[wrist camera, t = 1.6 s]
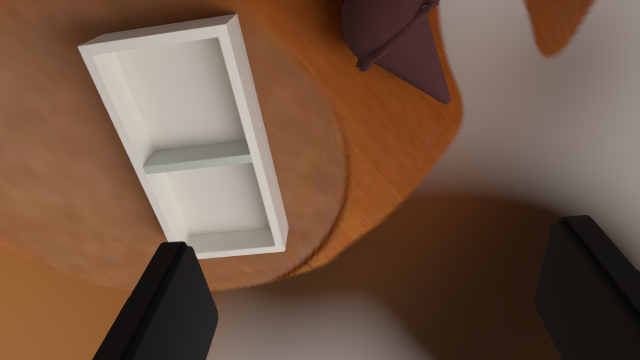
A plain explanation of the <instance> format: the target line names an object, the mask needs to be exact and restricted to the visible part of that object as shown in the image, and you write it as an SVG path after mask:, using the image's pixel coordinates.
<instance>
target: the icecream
mask: <svg viewBox="0 0 640 360" xmlns="http://www.w3.org/2000/svg"><path fill="white" fill-rule="evenodd" d="M439 1H440V0H345V1H344V4H343V7H342V10H341V27H342V31H343V35H344V38H345V42H346V43H347V45H348V47H349V48H350V50H351V51H352V53H353V55H355V56H357V57H358V62H357V65H356V67H359V69H360V71H362V72H363V71H367V70H369V69H370V67H371V66H372V64H373V63H375V64H377V65H379V66H380V67H382V68H384V69H385V70H387V71H389V72H391V73H392V74H394V75H396V76H397V77H399V78H401V79H402V80H404V81H406V82H408V83H409V84H411V85H413V86H414V87H416V88H418V89H420V90H421V91H423V92H425V93H426V94H428V95H430V96H431V97H433V98H435V99H436V100H438V101H440V102H442V103H443V104H448V103H449V102H450V101H451V99H450V95H449V91H448V88H447V84H446V81H445V77H444V74H443V70H442V67H441V63H440V60H439V56H438V53H437V49H436V46H435V42H434V39H433V35H432V31H431V28H430V24H429V21H428V17H427V15H428V14H429V12H430V11H431V10H432V8H434V7H436V6H438V4H439Z"/></svg>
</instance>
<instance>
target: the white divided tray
mask: <svg viewBox="0 0 640 360" xmlns="http://www.w3.org/2000/svg"><path fill="white" fill-rule="evenodd" d="M77 47H78V49H79V51H80V53H81V55H82V58H83V60H84V62H85V64H86V66H87V68H88V70H89V73H90V75H91V77H92V79H93V81H94V83H95V85H96V88H97V90H98V92H99V94H100V96H101V98H102V100H103V103H104V105H105V107H106V109H107V111H108V113H109V115H110V118H111V120H112V122H113V124H114V126H115V128H116V130H117V133H118V135H119V137H120V139H121V141H122V143H123V145H124V148H125V150H126V152H127V154H128V156H129V158H130V160H131V163H132V165H133V167H134V169H135V171H136V173H137V175H138V178H139V180H140V182H141V184H142V186H143V188H144V190H145V193H146V195H147V197H148V199H149V201H150V203H151V205H152V208H153V210H154V212H155V214H156V216H157V218H158V220H159V223H160V225H161V227H162V229H163V231H164V233H165V235H166V238H167V240H168V242H177V241H184V242H185V243H186V244H187V246H191V247H193V249H194V251H195V254H196V257H197V259H204V258H215V257H226V256H238V255H249V254H260V253H271V252H282V251H285V247H286V240H287V233H288V222H287V218H286V214H285V210H284V206H283V202H282V198H281V193H280V189H279V185H278V181H277V177H276V173H275V169H274V164H273V160H272V156H271V152H270V148H269V144H268V140H267V135H266V131H265V127H264V123H263V119H262V115H261V111H260V107H259V102H258V98H257V94H256V90H255V86H254V82H253V78H252V73H251V69H250V65H249V61H248V57H247V53H246V49H245V44H244V40H243V36H242V32H241V28H240V24H239V20H238V16H237V14H231V15H224V16H218V17H211V18H205V19H198V20H192V21H185V22H179V23H172V24H165V25H159V26H152V27H146V28H139V29H133V30H126V31H120V32H113V33H107V34H102V35H100V36H98V37H96V38H94V39H92V40H90V41H88V42H86V43H84V44H82V45H79V46H77Z"/></svg>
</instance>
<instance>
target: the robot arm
mask: <svg viewBox="0 0 640 360" xmlns="http://www.w3.org/2000/svg"><path fill="white" fill-rule="evenodd" d="M534 301H535V306H536V310H537V312H538V314H539V316H540V318H541V320H542V322H543V324H544V326H545V328H546V330H547V332H548V334H549V336H550V338H551V340H552V341H553V343H554V345H555V347H556V349H557V351H558V353H559V355H560V357H561V359H562V360H640V272H639V271H638V270H636V269H635V268H634V266H633V265H632V264H631V263H630V262H629V261H628V259H627V258H626V257H625V256H624V255H623V254H622V253H621V251H620V250H619V249H618V248H617V247H616V246H615V245H614V243H613V242H612V241H611V240H610V239H609V237H608V236H607V235H606V234H605V233H604V232H603V230H602V229H601V228H600V227H599V226H598V225H597V224H596V222H595V221H594V220H593V219H592V218H591V217H590V216H587V215H581V216H565V217H561V218H560V219H559V220H558V223H554V224H552V226H551V229H550V233H549V238H548V242H547V246H546V250H545V254H544V259H543V263H542V267H541V271H540V276H539V280H538V284H537V288H536V292H535V297H534ZM217 323H218V311H217V308H216V305H215V303H214V300H213V298H212V295H211V293H210V290H209V287H208V285H207V282H206V280H205V277H204V275H203V272H202V269H201V267H200V264H199V262H198V259H197V257H196V254H195V251H194V249H193V247H191V246H187V244H186V243H185V242H184V241H177V242H163V243H161V244H160V246H159V247H158V249H157V251H156V252H155V254H154V256H153V257H152V259H151V261H150V263H149V264H148V266H147V268H146V270H145V271H144V273H143V275H142V276H141V278H140V280H139V282H138V283H137V285H136V287H135V288H134V290H133V292H132V294H131V296H130V297H129V298H128V299H127V301H126V303H125V304H124V306H123V308H122V309H121V311H120V313H119V315H118V317H117V318H116V320H115V322H114V323H113V325H112V327H111V328H110V330H109V332H108V334H107V335H106V337H105V339H104V340H103V342H102V344H101V346H100V347H99V349H98V351H97V352H96V354H95V356H94V358H93V359H92V360H206V358H207V355H208V352H209V348H210V345H211V342H212V339H213V336H214V333H215V329H216V326H217Z"/></svg>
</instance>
